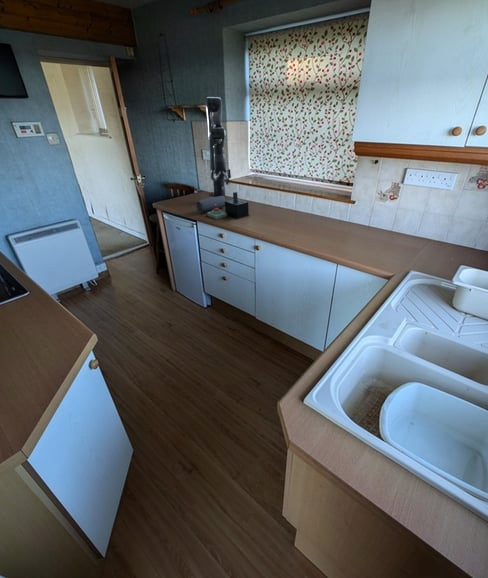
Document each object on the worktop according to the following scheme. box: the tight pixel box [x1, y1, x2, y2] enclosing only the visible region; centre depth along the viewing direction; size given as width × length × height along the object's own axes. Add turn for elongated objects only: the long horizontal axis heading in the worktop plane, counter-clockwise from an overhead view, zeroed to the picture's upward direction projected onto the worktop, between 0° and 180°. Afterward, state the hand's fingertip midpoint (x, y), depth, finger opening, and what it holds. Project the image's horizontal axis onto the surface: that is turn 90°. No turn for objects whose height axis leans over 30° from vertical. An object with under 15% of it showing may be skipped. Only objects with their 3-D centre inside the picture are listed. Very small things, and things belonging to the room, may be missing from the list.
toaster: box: [224, 198, 250, 220], centre depth 216 cm, size 14×11×10 cm
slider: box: [232, 191, 239, 200], centre depth 216 cm, size 2×2×5 cm
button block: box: [206, 209, 228, 220], centre depth 216 cm, size 12×10×4 cm
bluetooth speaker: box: [196, 196, 227, 213], centre depth 226 cm, size 23×9×10 cm, turn 132°
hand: (221, 185), depth 208 cm, fingers open, 8 cm apart
